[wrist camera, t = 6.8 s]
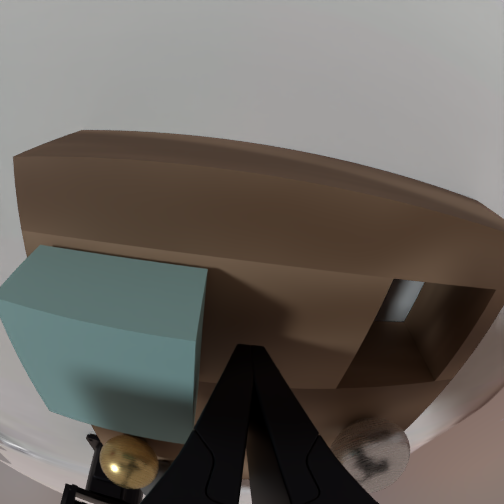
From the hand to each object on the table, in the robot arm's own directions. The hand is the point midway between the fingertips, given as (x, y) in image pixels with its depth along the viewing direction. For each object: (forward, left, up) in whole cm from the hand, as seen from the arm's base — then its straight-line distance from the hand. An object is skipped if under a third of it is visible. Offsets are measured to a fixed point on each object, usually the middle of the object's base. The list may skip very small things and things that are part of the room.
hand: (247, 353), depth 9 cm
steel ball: (-6, -7, +1) cm, 9 cm away
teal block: (0, +4, 0) cm, 4 cm away
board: (-5, -2, -5) cm, 7 cm away
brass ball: (-9, +5, +1) cm, 11 cm away
